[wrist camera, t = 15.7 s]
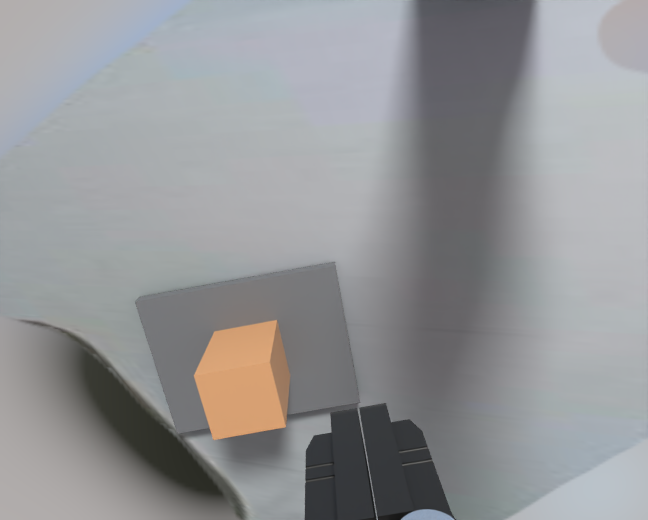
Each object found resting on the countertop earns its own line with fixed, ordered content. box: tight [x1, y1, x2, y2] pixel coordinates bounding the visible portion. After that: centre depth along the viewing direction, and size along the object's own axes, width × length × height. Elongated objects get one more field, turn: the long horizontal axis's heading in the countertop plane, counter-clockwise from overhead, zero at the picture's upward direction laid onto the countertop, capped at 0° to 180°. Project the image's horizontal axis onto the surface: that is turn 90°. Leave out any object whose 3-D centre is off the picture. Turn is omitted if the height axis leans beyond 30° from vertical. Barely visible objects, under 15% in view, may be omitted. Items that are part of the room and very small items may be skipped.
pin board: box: [135, 262, 360, 434], centre depth 40 cm, size 18×14×7 cm
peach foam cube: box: [194, 320, 290, 440], centre depth 39 cm, size 6×6×8 cm
